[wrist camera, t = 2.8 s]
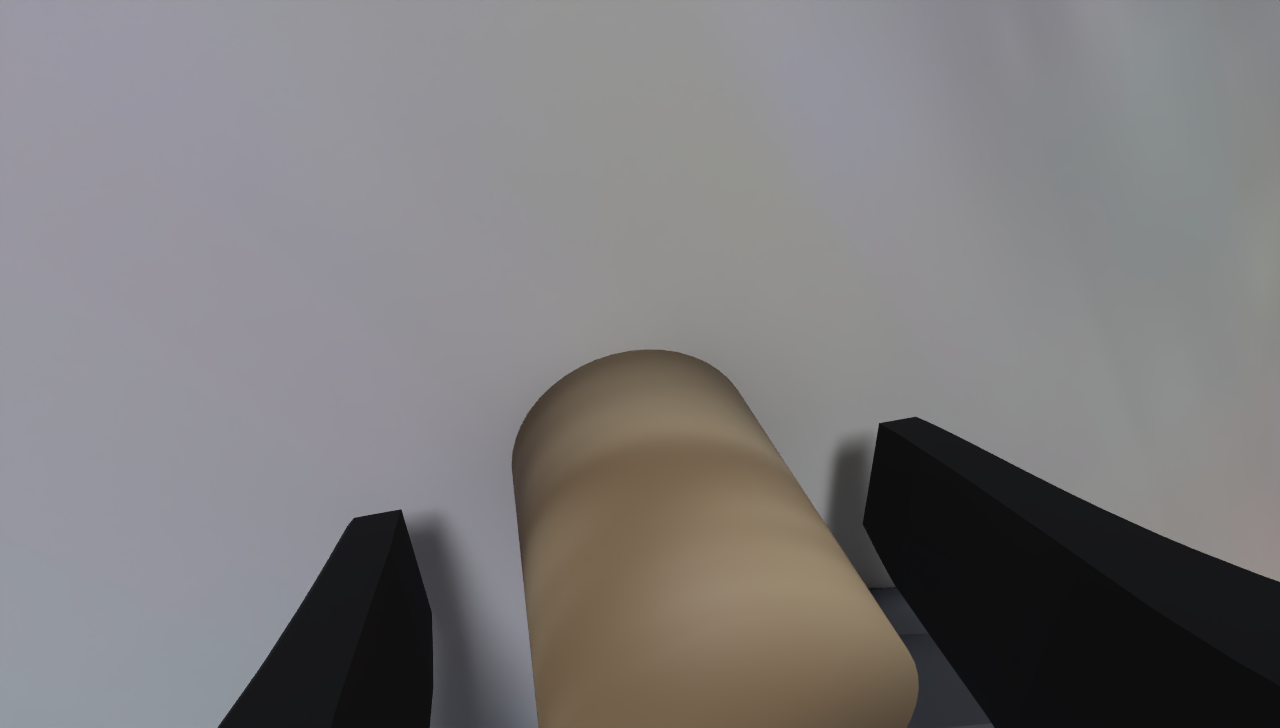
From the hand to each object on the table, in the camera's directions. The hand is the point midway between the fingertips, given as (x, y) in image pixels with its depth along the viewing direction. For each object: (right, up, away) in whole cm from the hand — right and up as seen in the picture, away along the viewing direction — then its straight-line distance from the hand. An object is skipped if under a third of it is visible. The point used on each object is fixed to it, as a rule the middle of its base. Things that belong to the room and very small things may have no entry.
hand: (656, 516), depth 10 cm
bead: (0, +1, +1) cm, 2 cm away
